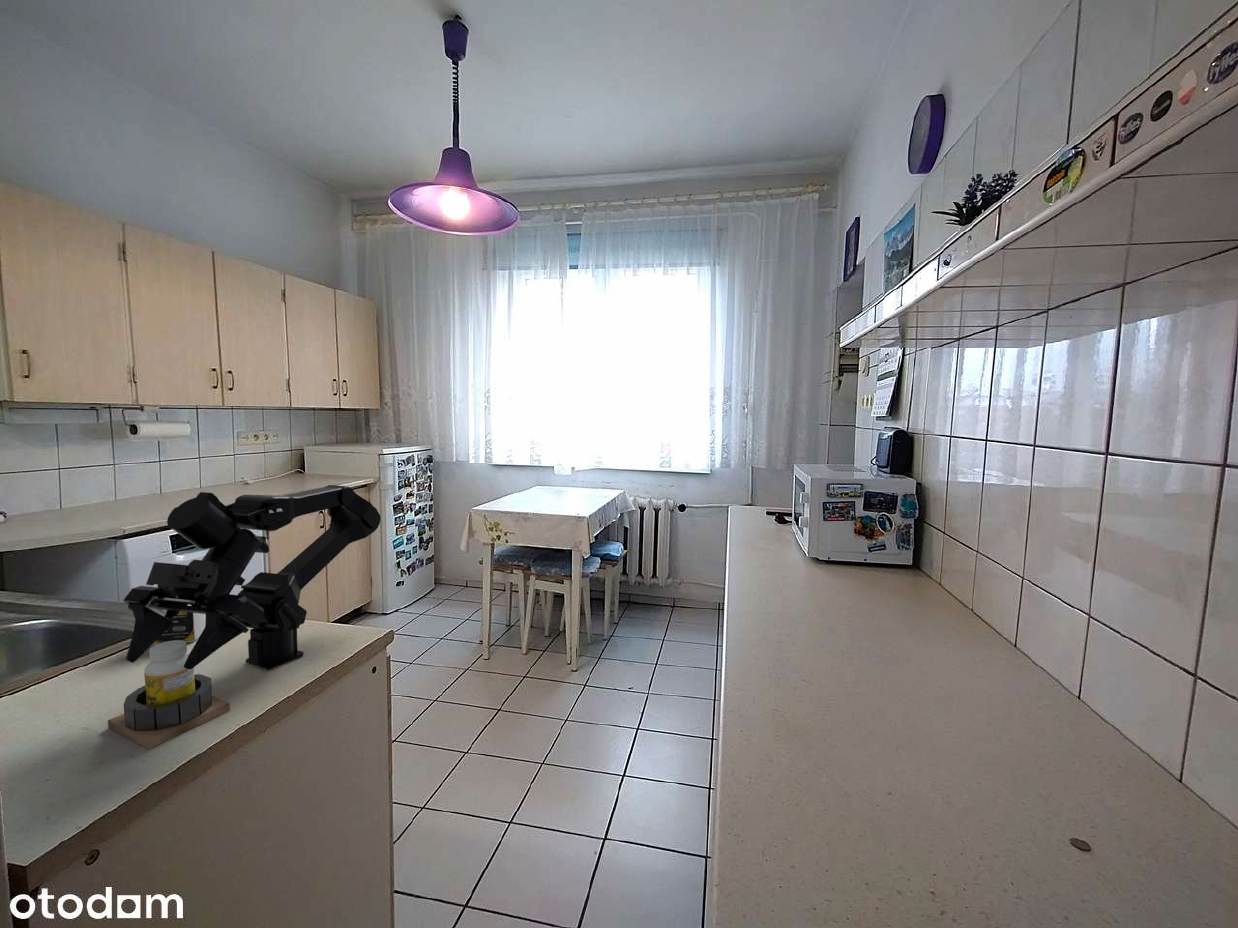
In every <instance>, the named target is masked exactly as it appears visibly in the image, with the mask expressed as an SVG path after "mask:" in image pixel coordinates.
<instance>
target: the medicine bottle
mask: <svg viewBox="0 0 1238 928" xmlns="http://www.w3.org/2000/svg"><path fill="white" fill-rule="evenodd" d="M157 587H159V588H162V589H163V590H165V591H167V592H168V593H170V594H172V595H173V596H175V597H178V594H176V593H172V592H171V591H169V590H168V589H169V587H165V586H163V585H157ZM187 606H192V605H187ZM169 620H171V621H173V623H172V625H171V626H170V627H169V628H168V629H167V630H166V631H165V632H164V633H163V634H162V635H161V636H160V637H159V638H158V639H157V640H156V641H155V642H154V643H153V644H152V645H151V646H155V645H157V644H160V643H163V642H167V641H174V640H183V641H185V642H186V644H187V643H196V642H197V640H198V639H199V637H200V635H201V633H202V632H203V630H204V628H205V620H206V614H201V613H191V612H182V611H180V612H179V613H178V615H176V616H174V617H173V618H171V619H169Z"/></svg>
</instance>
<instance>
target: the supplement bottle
mask: <svg viewBox="0 0 1238 928" xmlns="http://www.w3.org/2000/svg"><path fill="white" fill-rule="evenodd" d="M148 650H149V652H148V653H149V654H148V655H149V656H148V657H149V659H150V661H149V662H148V664H146V665H145V667H144V686H145V688H146V702H147V705H159V704H164V703H168V702H172V701H177V700H179V699H181V698H184V697H186V696H188V695H191V694H193V693H194V692H195V677H194V674H195V667H194V668H192V669H191V670H189V669H186V668H184V664H185V662H186V660H187V658H188V656H189V653H187V652H188V647H187V643H186V642H185V641H183V640H174V641H167V642H163V643H160V644H157V645H152V646H150V648H149V649H148Z"/></svg>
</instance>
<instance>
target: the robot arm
mask: <svg viewBox="0 0 1238 928" xmlns="http://www.w3.org/2000/svg"><path fill="white" fill-rule="evenodd" d="M325 510H326V511H327V515H328V516H329V518H330V522H329V528H327V529H326V530H325V531H324V532H322V534H321V535H319V536H318V537H317V538H316V539H315V540H314V541H313V542H312V543H310V544H309V545H308V546H307V547H306V548H305V549H304V550H303V551H301V553H299V554H298V555H297V556H295V558H293V559H292V560H291V561H290V562H288V563H287V564H286V565H285V566H284V567H283V568H282V569H280V571H278V572H276V573H274V572H273V573H272V572H264V571H260V572H259V573H257V574H255V576H254V577H253V578H252V579H251V580H250V581H249V582H247V583H246V584H244V583H245V582H246V579H245V578H244V577H242V575H243V573H244V572H245V570H246V568H247V566H248V565H249V563H250V562H251V560H252V559H253V557H254V556H255V554H256V553H261V554H267V553H270V547H269V545H268V543H267V537H266V536H263V535H262V536H259V535H256V534H255V533H254V532H253V531H252V530H254V531H263V532H264V531H265V532H275V531H277V530H279V529H280V530H281V528H283V527H286V526H288V525H290V524H291V523H292V522H293V521H294V519H296V518H298V517H301V516H305V515H308V514H313V513H317V512H320V511H325ZM170 511H171V512H170V513H169V515H168V517H167V519H166V524H167V526H168V527H169V528H170V529H171V530H173V531H174V532H176V533H177V534H178V535H180V536H182V538H184V539H185V540H187V541H188V542H189V543H191V544H192V545H194V546H195V547H196V548H198V549H201V550H207V549H208V550H207V552H206V553H205V554H204V556H203V558H202V559H193V560H192V561H190V562H189V563H188V564H179V563H168V562H158V561H154V562H153V564H152V567H151V570H150V572H149V574H148V578H147V581H146V582H145V585H139V586H136V587H132V588H131V590H130V591H129V592H128V593H127V595H125V597H124V598H123V600H122V602H123V603H126V604H127V608H128V610H130V611H131V612H132V613H133V616H134V627H133V632H132V636H131V640H130V644H129V646H128V650H127V654H126V656H125V657H126V658H125V660H126V661H127V662H128V663H133V664H134V663H135V662H136V661H137V660H138V659H140V658H141V657H142V656H143V655H144V654H145V653H146V652H147V651H148V650H150V648H151V647H152V646H153V645H152V644H153V643H154V642H155V641H156V640H157V639H158V638H159V637H160V636H161V635H162V634H163V633H164V632H165V631H166V630H167V629H168V628H169V627H170V626H171V625H172V623H173V621H171V620H169V619H171V618H173V617H174V616H176V615H178V613H179V612H180V611H182V612H191V613H201V614H206V620H205V628H204V630H203V632H202V633H201V635H200V637H199V638H198V639H197V640H196V641H195V644H194V645H193V647H192V648H191V651H190V652H189V653H188V655H189V656H188V658H187V660H186V662H185V664H184V668H186V669H189V670H191V669H192V668H194V669H195V667H197V666H198V665H199V664H200V663H202V662H203V661H204V660H205V659H207V658H208V657H209V656H211V655H212V654H213V653H215V652H216V651H218V650H219V649H220V648H221V647H223V646H225V645H226V644H227V643H229V642H231V641H233V640H234V638H236V637H238V636H239V635H241V634H246V633H248V632H250V633H249V634H250V635H249V637H250V638H249V639H248V641H247V648H248V657H247V658H246V659H245V663H247V664H249V665H252V666H254V667H257V668H261V669H264V670H267V671H269V670H273V669H276V668H277V667H280V666H282V665H285V664H287V663H290V662H291V661H293V660H296V659H298V658H300V657H302V656H304V655H305V652H304V651H302V650H298V629H300V626H301V625H303V624H304V623H305V622H306V617H307V613H308V611H307V609H305V608H304V607H303V606H301V605H299V603H300V599H301V597H300V596H301V591H302V590H303V589H304V588H305V587H306V586H307V585H308V584H309V583H310V582H311V581H312V580H313V579H314V578H315V577H316V576H317V575H318V574H319V573H320V572H321V571H323V570H324V569H325V567H327V566H328V565H329V564H330V563H331V561H333V560H334V559H335V558H336V557H337V556H338V555H340V554H341V552H342V551H343V550H345V549H346V548H347V547H348V546H349V545H350V544H352V543H354V542H355V543H356V542H358V541H361V540H363V539H366V538H368V537H370V535H371V534H373V533H374V532H376V531H377V529H378V528H379V526H380V524H381V521H382V520H381V514H380V512H379V511H378V508H376V507H375V506H374V505H373V504H372V503H371V502H370V501H368V500H367V499H366V498H363V497H362V496H360V495H359V494H357V493H356V491H355V490H354V489H353V488H352V487H350V486H347V485H336V484H328V485H326V486H323V487H319V488H318V487H317V488H314V489H313V488H312V489H309V490H303V491H298V492H293V493H287V494H283V495H272V494H271V495H269V494H267V495H266V494H242V495H240V496H238V497H236V498H235V501H234V502H232V503H230V504H226V505H225V504H224V503H223V502H221V501H220V500H219V498H218V497H217V495H215V494H214V493H213V492H206V491H205V492H204V491H200V492H198V494H197V495H196V497H193V498H190V499H188V500H185V501H184V502H183V503H181V504H179V505H178V506H175V507H174V508H173V509H172V510H170ZM155 585H157V586H155ZM158 585H163V586H165V587H169V589H168V590H169V591H171V592H172V593H176V594H178V597H175V596H173V595H172V594H170V593H168V592H167V591H165V590H163V589H162V588H159V587H158ZM235 586H239V587H240V586H241V587H240V589H241V590H240V592H238V593H237V594H230V593H231V592H232V590H233V589H234V587H235ZM187 605H192V606H187ZM249 628H250V629H249Z"/></svg>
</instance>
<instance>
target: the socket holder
mask: <svg viewBox="0 0 1238 928" xmlns="http://www.w3.org/2000/svg"><path fill="white" fill-rule="evenodd" d="M194 677H195V692H194V693H193V694H191V695H188V696H186V697H184V698H181V699H179V700H177V701H172V702H168V703H164V704H159V705H147V702H146V688H145V685H142V686H141V687H139V688H137V689H136V690H134V691H133V692H131V693H129V694H128V695H126V697H125V700H124V702H123V713H122V714H120V715H118V716H117V715H116V716H115V717H112V718H110V719H108V720H107V728H108V729H109V730H110V731H113V732H115V733H116V734H118V735H120V736H122V737H124V738H126V739H128V740H130V741H132V742H134V743H136V744H139V745H140V746H142V747H144V748H146V749H148V750H149V749H152V748H154V747H155V746H158V745H160V744H163V743H164V742H166V741H168V740H170V739H172V738H174V737H177V736H178V735H181V734H183V733H186V732H187V731H189V730H191V729H192V730H193V728H196V727H198V726H199V725H202V724H204V723H206V722H208V721H210V720H212V719H214V718H216V717H219V716H221V715H223V714H225V713H227V712H230V711H231V702H230V701H227V700H225V699H222V698H220V697H217V696H215V695H213V684H212V683H213V682H212V677H209V676H207V675H205V674H204V675H203V674H199V673H198V674H195V673H194Z"/></svg>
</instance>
